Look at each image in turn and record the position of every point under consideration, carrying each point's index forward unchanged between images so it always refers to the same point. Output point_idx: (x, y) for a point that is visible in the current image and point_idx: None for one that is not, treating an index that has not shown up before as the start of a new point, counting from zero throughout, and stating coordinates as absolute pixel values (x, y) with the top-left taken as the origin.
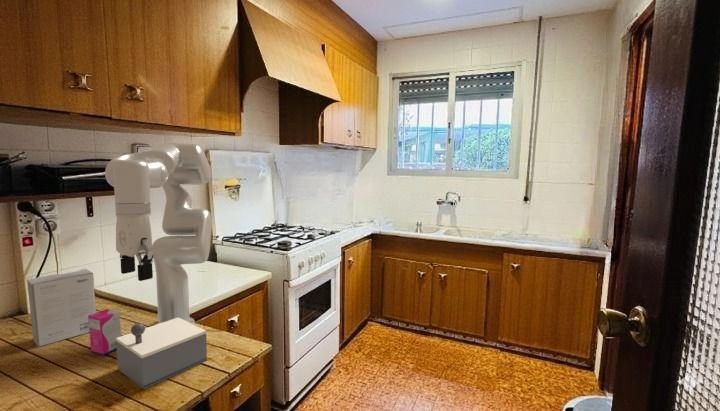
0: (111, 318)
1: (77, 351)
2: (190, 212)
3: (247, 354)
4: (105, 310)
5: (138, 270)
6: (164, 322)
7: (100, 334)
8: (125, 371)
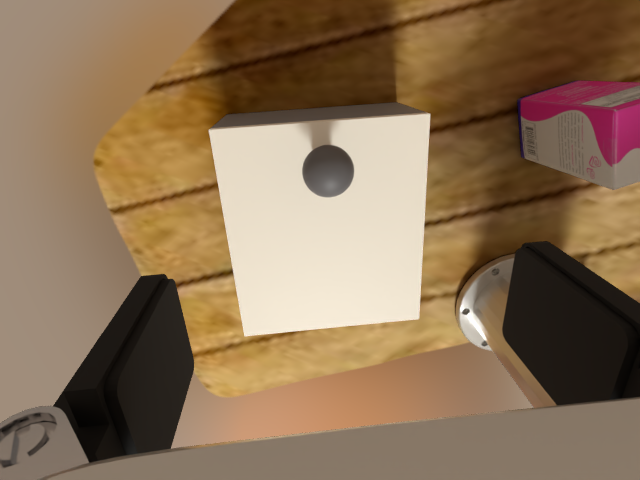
0: (599, 153)
1: (621, 50)
2: None
3: (207, 355)
4: None
5: (104, 339)
6: (416, 275)
7: (569, 102)
8: (344, 107)
